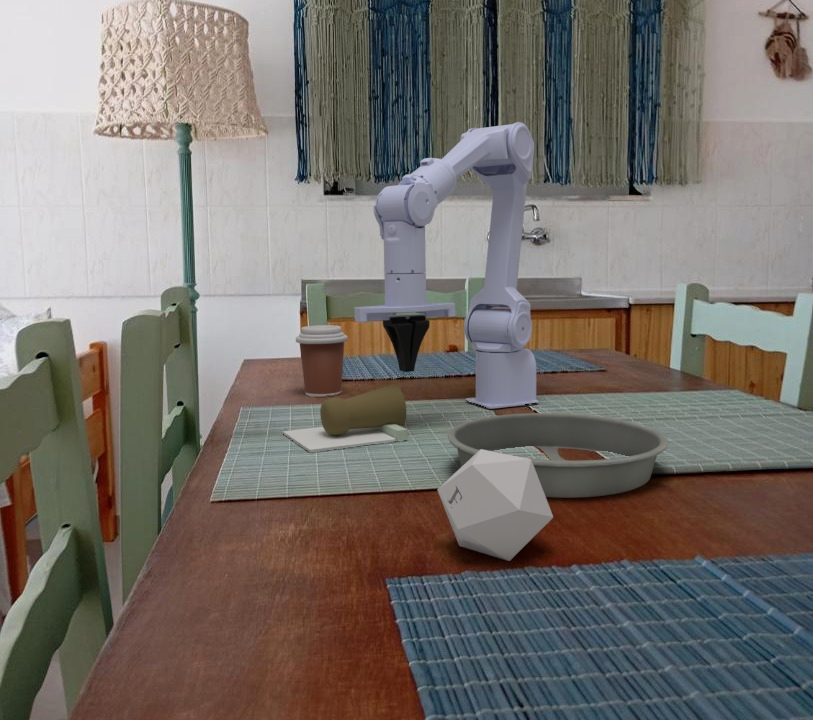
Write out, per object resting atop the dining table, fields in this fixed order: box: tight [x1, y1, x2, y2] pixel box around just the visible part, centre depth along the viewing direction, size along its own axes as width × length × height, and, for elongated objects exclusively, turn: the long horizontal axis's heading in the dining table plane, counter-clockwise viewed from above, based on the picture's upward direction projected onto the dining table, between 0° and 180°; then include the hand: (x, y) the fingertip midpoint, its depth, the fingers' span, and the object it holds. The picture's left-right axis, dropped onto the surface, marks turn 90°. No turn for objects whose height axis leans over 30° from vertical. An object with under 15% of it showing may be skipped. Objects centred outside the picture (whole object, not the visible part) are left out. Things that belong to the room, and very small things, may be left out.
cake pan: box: [447, 412, 669, 499], centre depth 93 cm, size 25×25×4 cm
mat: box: [282, 426, 397, 454], centre depth 111 cm, size 12×12×1 cm
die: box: [437, 449, 554, 562], centre depth 69 cm, size 8×9×10 cm
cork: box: [319, 383, 408, 436], centre depth 112 cm, size 6×6×11 cm
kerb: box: [375, 424, 409, 442], centre depth 114 cm, size 2×12×2 cm, turn 25°
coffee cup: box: [295, 324, 348, 396], centre depth 144 cm, size 9×9×12 cm
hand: (406, 370), depth 114 cm, fingers closed
